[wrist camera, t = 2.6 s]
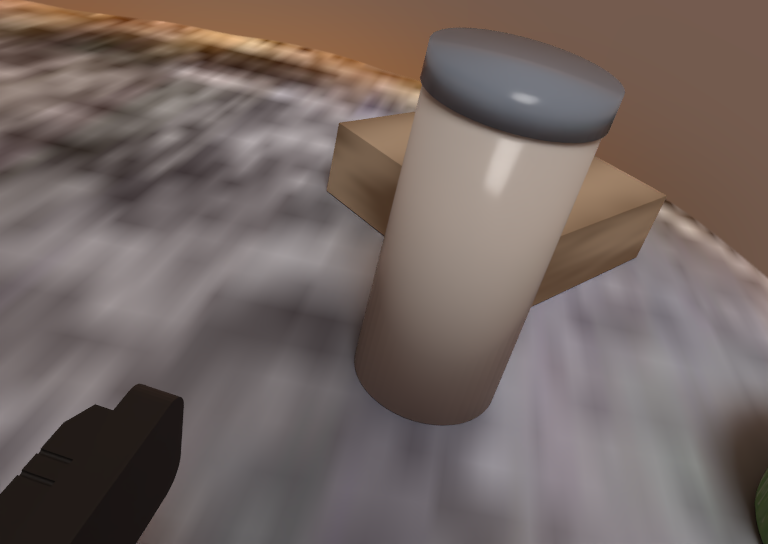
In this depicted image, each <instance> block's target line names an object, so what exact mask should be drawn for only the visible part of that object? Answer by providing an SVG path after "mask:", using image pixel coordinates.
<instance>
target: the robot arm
mask: <svg viewBox="0 0 768 544" xmlns="http://www.w3.org/2000/svg"><path fill="white" fill-rule="evenodd" d="M183 410H184V402H183V399H182V398H181V397H179V396H176V395H173V394H170V393H167V392H164V391H161V390H158V389H155V388H152V387H149V386H146V385H143V384H137V385H135V386H134V387H133V388H131V390H130V391H129V392H128V393H127V394H126V395H125V397H124V398H123V399H122V400H121V402H120V403H119V404H118V405H117V406H116V408H115V409H114V410H110V409H107V408H104V407H101V406H98V405H96V404H95V405H93V406H92V407H90V408H88V409H86V410H85V411H83V412H81V413H79V414H78V415H76V416H74V417H73V418H71V419H69V420H67V421H66V422H64V423H63V424H62V425H61V426H60V427H59V429H58V430H57V431H56V432H55V433H54V434H53V435H52V436H51V438H50V439H49V440H48V441H47V442H46V443H45V444H44V445H43V447H42V448H41V451H40V453H39V454H36V455H35V456H34V457H33V458H32V459H31V460H30V461H29V462H28V464H27V465H26V466H25V467H24V468H23V469H22V472H21V474H20V475H19V476H18V475H17V476H16V477H15V478H14V479H13V481H12V482H11V483H10V484H9V485H8V486H7V487H6V488H5V490H4V491H3V492H2V493H1V494H0V544H136V543H137V541H138V539H139V538H140V536H141V535H142V533H143V532H144V530H145V528H146V527H147V525H148V524H149V522H150V520H151V519H152V517H153V516H154V514H155V512H156V511H157V509H158V508H159V506H160V504H161V503H162V501H163V500H164V498H165V496H166V495H167V493H168V491H169V489H170V487H171V485H172V483H173V481H174V478H175V476H176V473H177V470H178V467H179V463H180V456H181V441H182V425H183Z"/></svg>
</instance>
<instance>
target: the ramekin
mask: <svg viewBox="0 0 768 544" xmlns="http://www.w3.org/2000/svg"><path fill="white" fill-rule="evenodd" d="M755 513H756V521H757V525H758V529H759V533H760V536H761V539H762V541H763V544H768V468H767V470H766V472H765V473H764V475H763V477H762V479H761V481H760V484H759V486H758V489H757V492H756V499H755Z"/></svg>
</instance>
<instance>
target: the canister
mask: <svg viewBox="0 0 768 544" xmlns="http://www.w3.org/2000/svg"><path fill="white" fill-rule="evenodd" d="M420 79H421V83H422V87H421V91H420V95H419V100H418V104H417V108H416V112H415V116H414V120H413V124H412V128H411V132H410V136H409V140H408V144H407V148H406V152H405V156H404V160H403V164H402V168H401V172H400V176H399V180H398V184H397V188H396V192H395V196H394V200H393V204H392V208H391V212H390V216H389V220H388V224H387V228H386V232H385V236H384V240H383V244H382V248H381V252H380V256H379V260H378V264H377V268H376V272H375V276H374V280H373V284H372V288H371V292H370V296H369V300H368V304H367V308H366V312H365V316H364V320H363V324H362V329H361V333H360V337H359V341H358V345H357V349H356V353H355V358H354V364H355V370H356V373H357V376H358V378H359V380H360V382H361V384H362V385H363V387H364V388H365V390H366V391H367V392H368V393H369V394H370V395H371V396H372V397H373V398H374V399H375V400H376V401H377V402H378V403H380V404H381V405H382V406H384V407H385V408H387V409H388V410H390V411H392V412H394V413H396V414H398V415H400V416H402V417H404V418H407V419H410V420H413V421H416V422H420V423H425V424H432V425H454V424H460V423H464V422H467V421H470V420H472V419H474V418H476V417H478V416H479V415H481V414H482V413H483V412H484V411H485V410H486V409H487V408H488V407H489V405H490V403H491V402H492V399H493V397H494V394H495V392H496V390H497V387H498V385H499V382H500V380H501V378H502V375H503V373H504V370H505V368H506V366H507V363H508V361H509V358H510V356H511V354H512V351H513V349H514V347H515V344H516V342H517V339H518V337H519V335H520V332H521V330H522V327H523V325H524V323H525V320H526V318H527V315H528V313H529V311H530V308H531V306H532V303H533V301H534V299H535V296H536V294H537V292H538V289H539V287H540V284H541V282H542V280H543V277H544V275H545V272H546V270H547V268H548V265H549V263H550V260H551V258H552V256H553V253H554V251H555V248H556V246H557V244H558V241H559V239H560V237H561V234H562V232H563V229H564V227H565V225H566V222H567V220H568V217H569V215H570V213H571V210H572V208H573V205H574V203H575V201H576V198H577V196H578V194H579V191H580V189H581V186H582V184H583V182H584V179H585V177H586V174H587V172H588V170H589V167H590V165H591V162H592V160H593V158H594V155H595V153H596V150H597V148H598V146H599V143H600V141H601V138H603V137H604V136H606V135H607V133H608V132H609V130H610V127H611V125H612V123H613V120H614V118H615V115H616V113H617V111H618V108H619V106H620V104H621V101H622V99H623V96H624V93H625V91H624V88H623V86H622V84H621V83H620V82H619V81H618V80H617V79H616V78H615V77H614V76H613V75H611V74H610V73H609V72H607V71H606V70H604V69H603V68H601V67H599V66H598V65H596V64H594V63H592V62H590V61H588V60H586V59H584V58H582V57H579V56H577V55H575V54H573V53H570V52H568V51H565V50H563V49H560V48H557V47H554V46H551V45H549V44H546V43H542V42H539V41H536V40H532V39H529V38H525V37H521V36H516V35H513V34H508V33H503V32H497V31H492V30H485V29H476V28H448V29H442V30H439V31H436V32H434V33H433V34H432V35H431V36H430V39H429V43H428V48H427V52H426V56H425V60H424V64H423V68H422V72H421V76H420Z"/></svg>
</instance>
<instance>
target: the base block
mask: <svg viewBox="0 0 768 544" xmlns="http://www.w3.org/2000/svg"><path fill="white" fill-rule="evenodd" d="M414 116H415V112H410V113H404V114H397V115H390V116H383V117H376V118H369V119H363V120H356V121H349V122H342V123H339V127H338V132H337V138H336V143H335V149H334V154H333V160H332V165H331V170H330V176H329V181H328V187H327V191H328V192H329V193H331V194H332V195H333V196H334V197H336V198H337V199H338V200H339V201H341V202H342V203H343V204H345V205H346V206H347V207H348V208H350V209H351V210H352V211H353V212H355V213H356V214H357V215H359V216H360V217H361V218H362V219H364V220H365V221H366V222H367V223H369V224H370V225H371V226H373V227H374V228H375V229H376V230H378V231H379V232H380V233H382V234H383V235H384V236H385V232H386V228H387V224H388V220H389V216H390V212H391V208H392V204H393V200H394V196H395V192H396V188H397V184H398V180H399V176H400V172H401V168H402V164H403V160H404V156H405V152H406V148H407V144H408V140H409V136H410V132H411V128H412V124H413V120H414ZM666 197H667V195H665V194H663V193H661V192H659V191H657V190H656V189H654V188H652V187H650V186H648V185H647V184H645V183H643V182H641V181H639V180H637V179H636V178H634V177H632V176H630V175H628V174H626V173H625V172H623V171H621V170H619V169H617V168H616V167H614V166H612V165H610V164H608V163H607V162H605V161H603V160H601V159H599V158H597V157H596V156H594V158H593V160H592V162H591V165H590V167H589V170H588V172H587V174H586V177H585V179H584V182H583V184H582V186H581V189H580V191H579V194H578V196H577V198H576V201H575V203H574V205H573V208H572V210H571V213H570V215H569V217H568V220H567V222H566V225H565V227H564V229H563V232H562V234H561V237H560V239H559V241H558V244H557V246H556V248H555V251H554V253H553V256H552V258H551V260H550V263H549V265H548V268H547V270H546V272H545V275H544V277H543V280H542V282H541V284H540V287H539V289H538V292H537V294H536V296H535V299H534V301H533V303H532V306H534V305H536V304H538V303H540V302H542V301H544V300H546V299H549V298H551V297H553V296H555V295H557V294H559V293H561V292H563V291H566V290H568V289H570V288H572V287H574V286H576V285H578V284H580V283H583V282H585V281H587V280H589V279H591V278H593V277H595V276H597V275H599V274H602V273H604V272H606V271H608V270H610V269H612V268H614V267H616V266H619V265H621V264H623V263H625V262H627V261H629V260H631V259H633V258H636V257H637V255H638V253H639V251H640V249H641V247H642V245H643V243H644V241H645V239H646V237H647V235H648V233H649V231H650V229H651V227H652V225H653V223H654V221H655V219H656V217H657V215H658V213H659V211H660V209H661V207H662V205H663V203H664V201H665V199H666ZM532 306H531V307H532Z"/></svg>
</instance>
